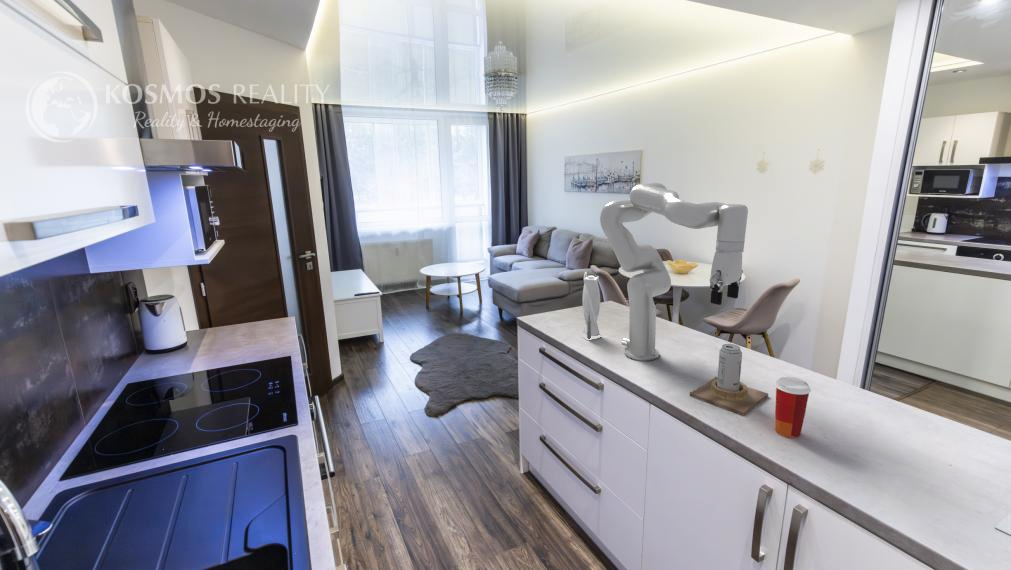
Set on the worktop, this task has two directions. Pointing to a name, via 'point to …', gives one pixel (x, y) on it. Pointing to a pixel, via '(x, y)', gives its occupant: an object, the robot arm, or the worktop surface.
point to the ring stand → (729, 397)
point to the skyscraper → (591, 305)
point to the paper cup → (790, 405)
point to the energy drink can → (729, 367)
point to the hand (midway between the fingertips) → (724, 300)
